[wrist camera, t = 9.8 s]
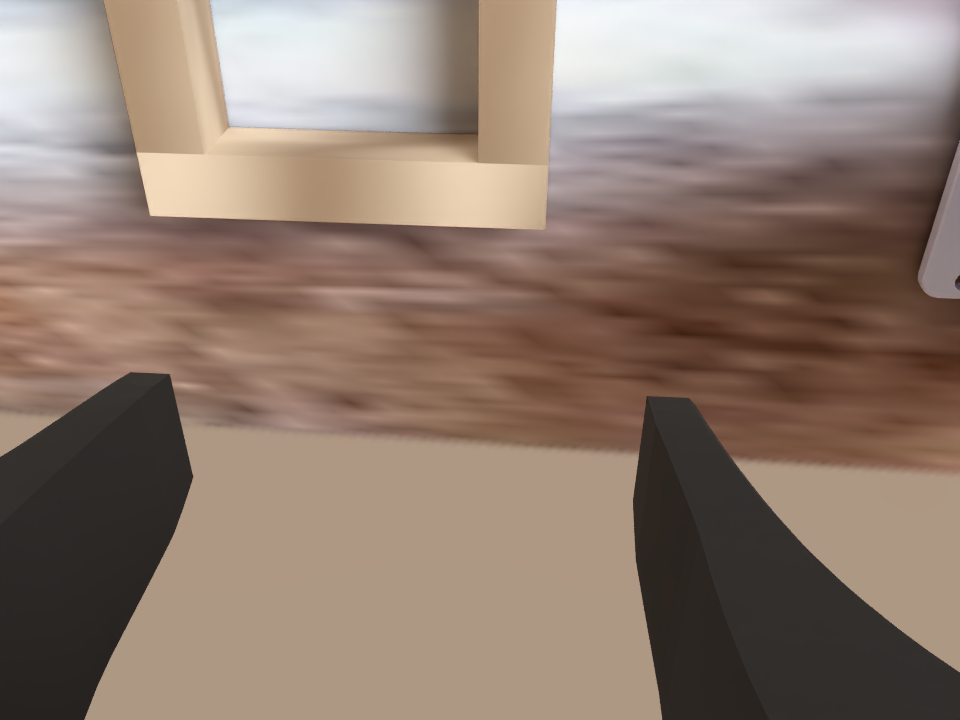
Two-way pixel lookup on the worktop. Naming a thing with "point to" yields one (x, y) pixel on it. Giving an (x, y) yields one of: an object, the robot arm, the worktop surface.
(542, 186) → the pocket block
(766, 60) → the worktop surface
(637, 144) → the worktop surface
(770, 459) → the worktop surface
